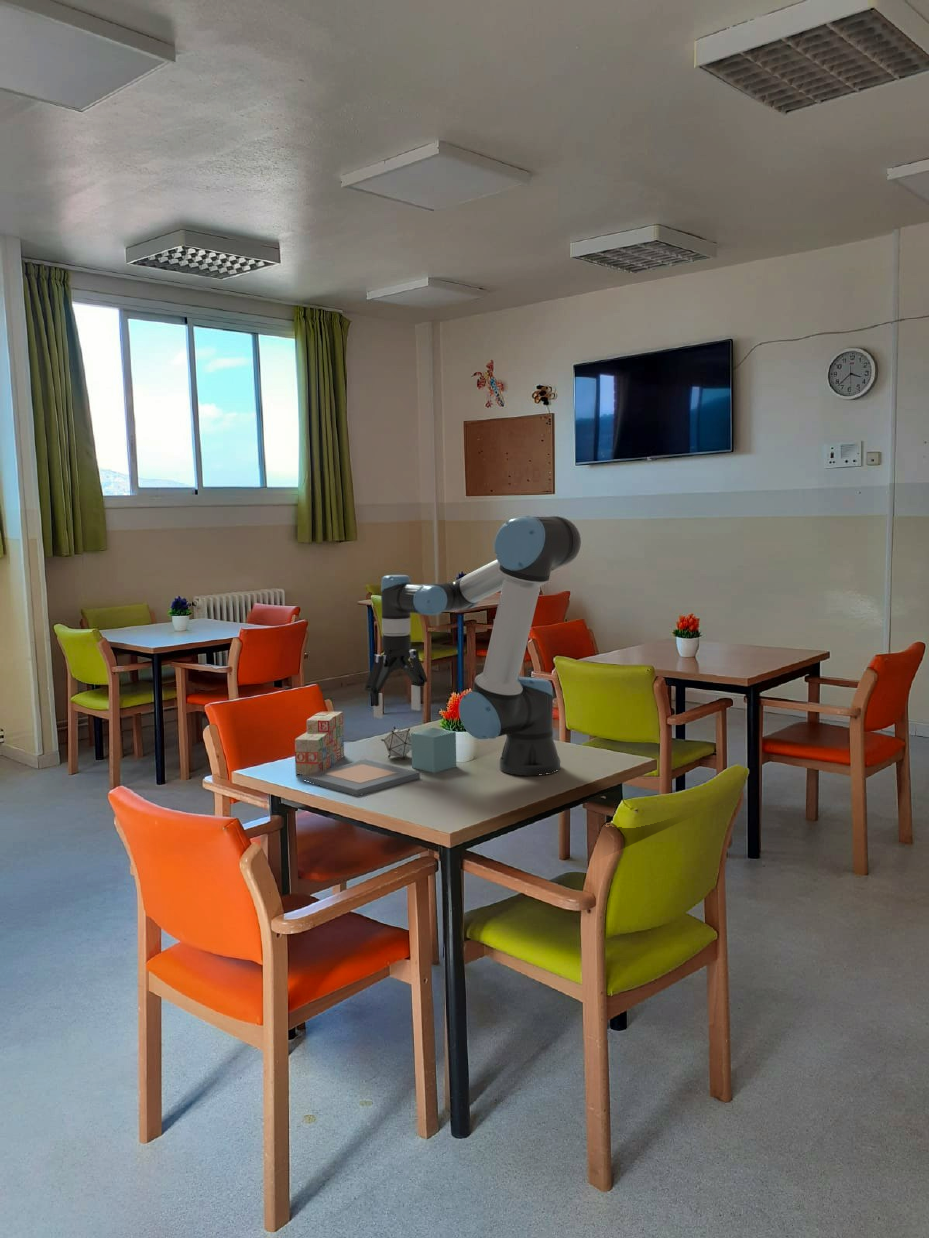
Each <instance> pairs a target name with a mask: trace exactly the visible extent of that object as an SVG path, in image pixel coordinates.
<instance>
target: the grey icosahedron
mask: <svg viewBox="0 0 929 1238" xmlns="http://www.w3.org/2000/svg"><path fill="white" fill-rule="evenodd" d="M410 730H411V728H408V729H407V730H406V729H405V730H404V729H399V728H396V726H393V730H391V732H390V733H389V734H388V735H387V736H386V737H385V738H384V739H382V738H380V741H381V742H384V745H385V747H386V750H387V752H388V757H387V758H388V759H389V758H391V757H392V756H393V757H399V758H402V760H403V761H404V760H405V756H407V754H408V753H409V752H410V751H412V749H411V733H410Z"/></svg>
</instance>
